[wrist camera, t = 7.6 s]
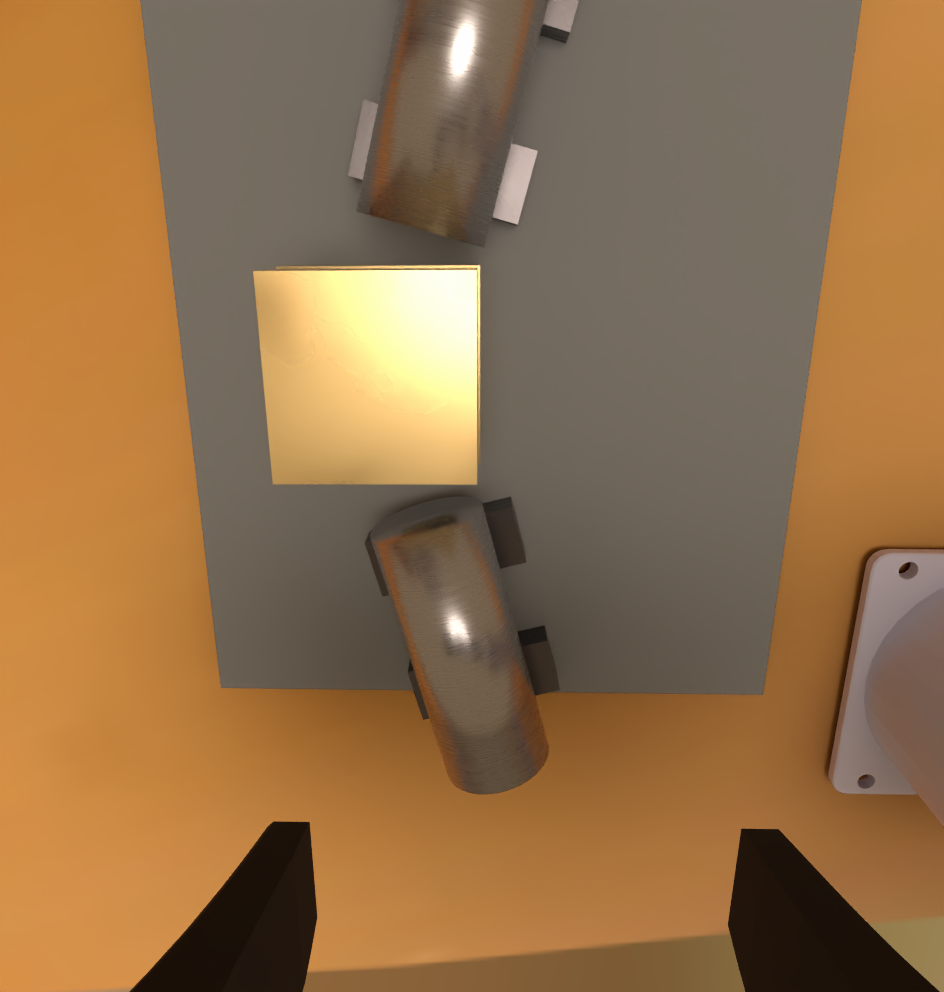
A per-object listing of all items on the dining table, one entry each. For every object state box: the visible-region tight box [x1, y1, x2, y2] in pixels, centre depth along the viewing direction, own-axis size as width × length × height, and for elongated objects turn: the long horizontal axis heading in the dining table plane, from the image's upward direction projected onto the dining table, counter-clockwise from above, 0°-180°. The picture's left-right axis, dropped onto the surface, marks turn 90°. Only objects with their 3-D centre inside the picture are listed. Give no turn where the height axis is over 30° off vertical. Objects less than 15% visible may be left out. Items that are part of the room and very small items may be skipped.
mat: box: [140, 0, 862, 695], centre depth 19 cm, size 16×21×1 cm
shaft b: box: [365, 496, 560, 794], centre depth 20 cm, size 7×4×4 cm, turn 15°
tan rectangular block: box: [253, 265, 481, 485], centre depth 17 cm, size 4×4×5 cm
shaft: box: [348, 0, 579, 248], centre depth 16 cm, size 7×4×4 cm, turn 165°
